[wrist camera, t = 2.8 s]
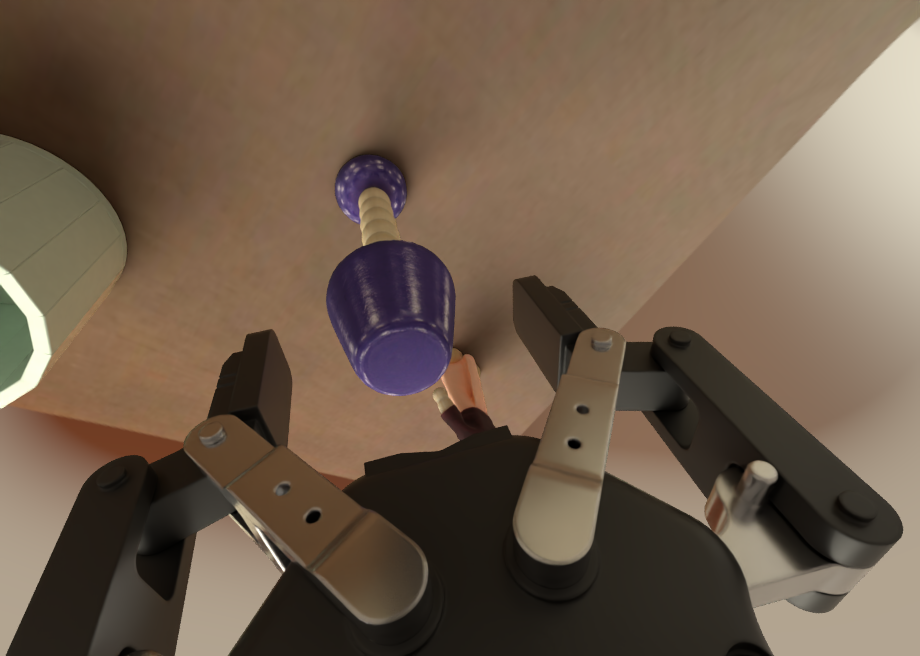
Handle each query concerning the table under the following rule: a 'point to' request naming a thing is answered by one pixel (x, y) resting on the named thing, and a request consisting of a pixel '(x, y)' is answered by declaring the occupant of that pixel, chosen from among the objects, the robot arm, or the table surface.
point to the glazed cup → (49, 260)
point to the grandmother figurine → (463, 397)
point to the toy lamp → (389, 288)
